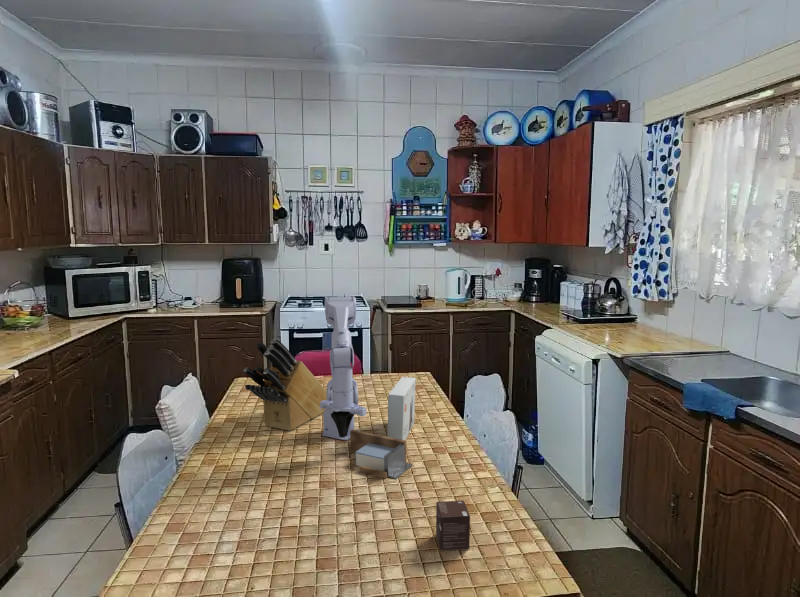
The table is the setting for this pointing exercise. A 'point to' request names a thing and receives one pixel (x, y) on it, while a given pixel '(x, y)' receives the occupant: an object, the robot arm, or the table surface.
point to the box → (452, 525)
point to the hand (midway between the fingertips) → (343, 436)
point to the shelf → (363, 438)
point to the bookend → (395, 462)
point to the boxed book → (372, 456)
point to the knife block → (286, 388)
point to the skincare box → (401, 408)
